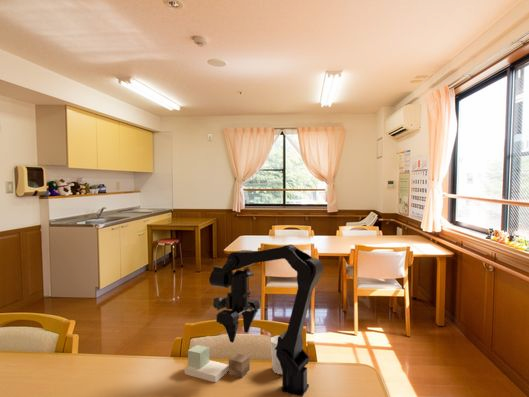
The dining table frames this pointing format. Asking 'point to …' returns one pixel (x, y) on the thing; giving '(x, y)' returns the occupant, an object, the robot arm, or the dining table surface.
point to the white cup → (275, 361)
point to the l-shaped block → (204, 365)
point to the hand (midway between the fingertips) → (239, 337)
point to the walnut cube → (239, 365)
